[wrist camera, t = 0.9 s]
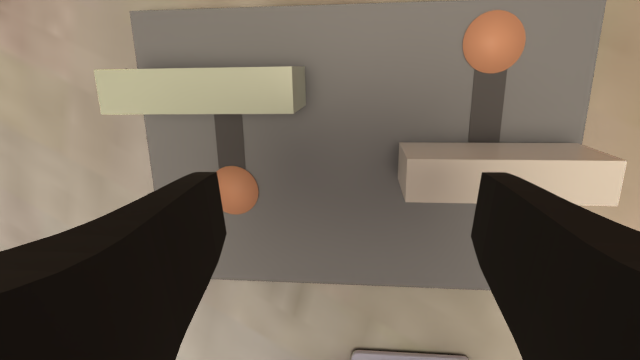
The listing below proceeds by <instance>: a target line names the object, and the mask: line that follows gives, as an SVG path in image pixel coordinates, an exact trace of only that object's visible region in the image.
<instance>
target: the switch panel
mask: <svg viewBox="0 0 640 360" xmlns="http://www.w3.org/2000/svg"><path fill="white" fill-rule="evenodd" d="M605 5H606V0H458V1H427V2H396V3H365V4H333V5H302V6H271V7H240V8H209V9H178V10H147V11H130V18H131V25H132V33H133V40H134V47H135V54H136V62H137V69H165V68H226V67H287V66H305V90H306V105H305V106H304V107H303V108H301V109H300V110H298V111H297V112H295V113H294V114H144V120H145V127H146V135H147V142H148V149H149V157H150V164H151V171H152V178H153V186H154V191H156V190H158V189H160V188H161V187H163V186H165V185H167V184H169V183H171V182H173V181H175V180H177V179H179V178H181V177H184V176H186V175H188V174H191V173H194V172H217V176H218V182H219V189H220V195H221V201H222V207H223V214H224V220H225V226H226V232H227V234H226V238H225V241H224V245H223V249H222V252H221V255H220V258H219V262H218V264H217V266H216V269H215V271H214V273H213V275H212V277H211V279H223V280H248V281H272V282H297V283H322V284H347V285H372V286H396V287H421V288H446V289H471V290H490V287H489V285H488V283H487V281H486V279H485V277H484V275H483V273H482V270H481V268H480V265H479V262H478V259H477V256H476V253H475V249H474V246H473V242H472V239H471V232H472V226H473V221H474V215H475V209H476V204H474V203H421V202H405V200H404V196H403V193H402V190H401V187H400V184H399V181H398V160H399V142H429V143H579V144H581V145H582V141H583V135H584V129H585V124H586V118H587V112H588V106H589V100H590V94H591V88H592V82H593V76H594V70H595V64H596V58H597V52H598V47H599V41H600V35H601V29H602V23H603V17H604V11H605Z"/></svg>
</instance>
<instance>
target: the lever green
mask: <svg viewBox="0 0 640 360" xmlns="http://www.w3.org/2000/svg"><path fill="white" fill-rule="evenodd" d="M94 75H95V81H96V87H97V93H98V99H99V105H100V111H101V115H120V114H294V113H295V112H297V111H298V110H300V109H301V108H303V107H304V106H305V105H306V90H305V66H287V67H226V68H165V69H103V70H94Z"/></svg>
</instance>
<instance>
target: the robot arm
mask: <svg viewBox="0 0 640 360" xmlns="http://www.w3.org/2000/svg"><path fill="white" fill-rule="evenodd" d="M226 234H227V232H226V226H225V220H224V214H223V207H222V201H221V195H220V189H219V182H218V176H217V172H194V173H191V174H188V175H186V176H184V177H181V178H179V179H177V180H175V181H173V182H171V183H169V184H167V185H165V186H163V187H161V188H160V189H158V190H156V191H154V192H152V193H150V194H148V195H146V196H144V197H142V198H140V199H138V200H136V201H134V202H132V203H130V204H128V205H125V206H123V207H121V208H119V209H117V210H115V211H113V212H111V213H109V214H107V215H104V216H102V217H100V218H97V219H95V220H93V221H90V222H88V223H85V224H83V225H80V226H77V227H75V228H72V229H70V230H67V231H64V232H62V233H59V234H56V235H53V236H50V237H47V238H43V239H40V240H37V241H34V242H30V243H27V244H24V245H21V246H18V247H14V248H11V249H8V250H4V251H1V252H0V360H175V359H176V357H177V354H178V351H179V348H180V345H181V343H182V340H183V338H184V335H185V333H186V331H187V328H188V326H189V324H190V322H191V320H192V318H193V316H194V313H195V311H196V309H197V307H198V305H199V303H200V301H201V299H202V297H203V294H204V292H205V290H206V288H207V286H208V284H209V282H210V279H211V277H212V275H213V273H214V271H215V269H216V266H217V264H218V262H219V258H220V255H221V252H222V249H223V245H224V241H225V238H226ZM471 239H472V242H473V246H474V249H475V253H476V256H477V259H478V262H479V265H480V268H481V270H482V273H483V275H484V277H485V279H486V281H487V283H488V285H489V287H490V290H491V292H492V294H493V296H494V298H495V300H496V302H497V304H498V306H499V308H500V310H501V312H502V314H503V317H504V319H505V321H506V323H507V325H508V327H509V329H510V331H511V333H512V335H513V337H514V339H515V342H516V344H517V347H518V349H519V351H520V354H521V356H522V359H523V360H640V231H637V230H634V229H631V228H629V227H626V226H624V225H621V224H619V223H616V222H614V221H612V220H609V219H607V218H605V217H602V216H600V215H598V214H596V213H593V212H591V211H589V210H587V209H584V208H582V207H580V206H578V205H576V204H574V203H572V202H569V201H567V200H565V199H563V198H561V197H559V196H557V195H555V194H553V193H551V192H549V191H547V190H545V189H543V188H541V187H539V186H537V185H535V184H533V183H531V182H529V181H526V180H524V179H522V178H520V177H517V176H515V175H512V174H509V173H506V172H482V175H481V180H480V186H479V192H478V198H477V203H476V209H475V215H474V221H473V226H472V232H471ZM351 360H469V359H468V358H467V357H466V356H457V355H439V354H422V353H404V352H387V351H369V350H356V351H354V352H353V353H352V358H351Z"/></svg>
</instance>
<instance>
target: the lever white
mask: <svg viewBox="0 0 640 360" xmlns="http://www.w3.org/2000/svg"><path fill="white" fill-rule="evenodd" d="M626 164H627V161H626V160H623V159H620V158H618V157H615V156H612V155H609V154H606V153H604V152H601V151H598V150H595V149H593V148H590V147H587V146H584V145H581V144H579V143H429V142H399V160H398V181H399V184H400V187H401V190H402V193H403V196H404V200H405V202H421V203H474V204H476V203H477V198H478V192H479V186H480V180H481V175H482V172H506V173H509V174H512V175H515V176H517V177H520V178H522V179H524V180H526V181H529V182H531V183H533V184H535V185H537V186H539V187H541V188H543V189H545V190H547V191H549V192H551V193H553V194H555V195H557V196H559V197H561V198H563V199H565V200H567V201H569V202H572V203H574V204H576V205H581V206H618V203H619V198H620V193H621V188H622V184H623V179H624V174H625V169H626Z"/></svg>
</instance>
